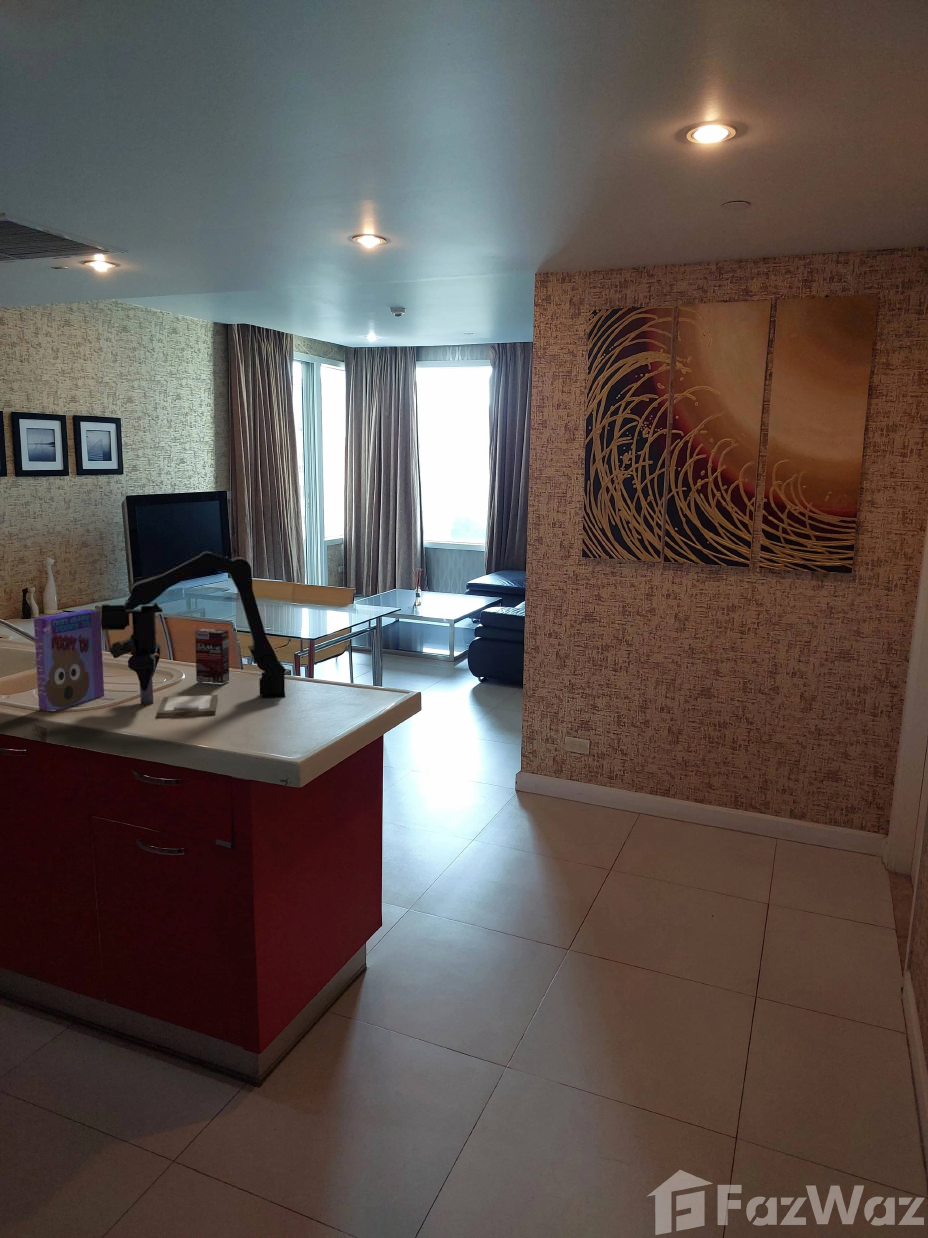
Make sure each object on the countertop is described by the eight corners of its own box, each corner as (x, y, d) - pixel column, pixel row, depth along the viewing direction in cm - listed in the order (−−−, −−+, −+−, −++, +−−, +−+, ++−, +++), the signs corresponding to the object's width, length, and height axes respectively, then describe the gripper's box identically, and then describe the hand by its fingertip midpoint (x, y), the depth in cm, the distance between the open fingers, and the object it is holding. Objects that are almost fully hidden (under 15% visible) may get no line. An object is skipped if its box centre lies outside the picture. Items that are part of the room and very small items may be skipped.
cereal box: (53, 712, 205) (48, 619, 201) (39, 710, 206) (33, 618, 202) (104, 696, 221) (100, 610, 217) (90, 694, 223) (86, 608, 219)
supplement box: (195, 683, 237) (194, 630, 235) (203, 680, 242) (202, 628, 239) (223, 685, 236) (221, 632, 233) (230, 681, 241) (229, 629, 238)
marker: (154, 701, 217) (152, 658, 215) (152, 705, 214) (151, 660, 212) (141, 702, 216) (139, 658, 214) (139, 705, 213) (137, 661, 211)
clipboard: (217, 698, 221) (217, 691, 221) (215, 715, 206) (214, 706, 206) (163, 701, 218) (163, 693, 217) (157, 717, 202) (156, 709, 202)
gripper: (117, 623, 218) (119, 679, 221) (105, 636, 201) (107, 697, 203) (160, 623, 221) (162, 678, 224) (152, 635, 203) (154, 695, 206)
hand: (146, 686), depth 214 cm, fingers open, 8 cm apart
